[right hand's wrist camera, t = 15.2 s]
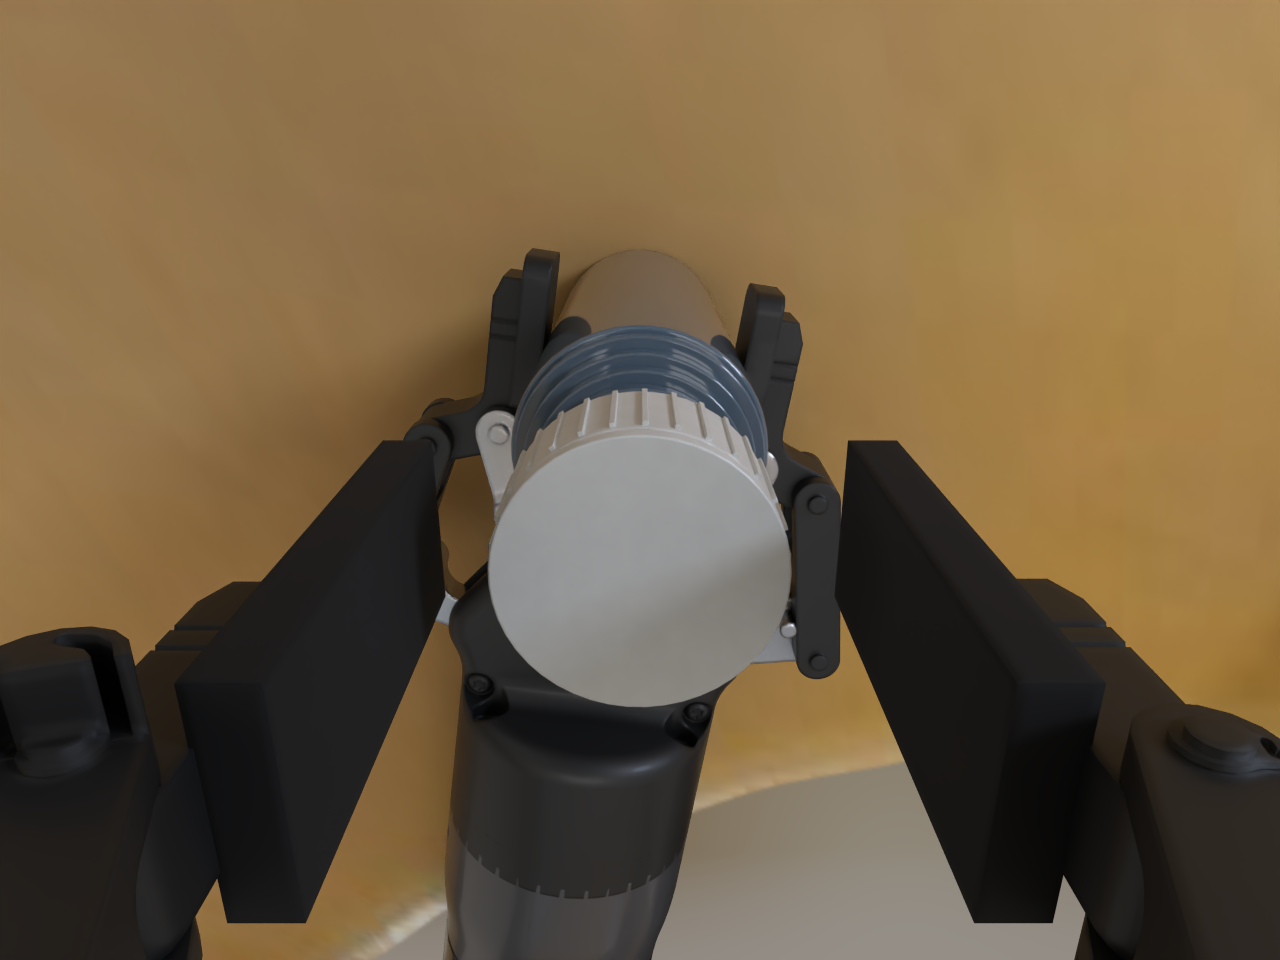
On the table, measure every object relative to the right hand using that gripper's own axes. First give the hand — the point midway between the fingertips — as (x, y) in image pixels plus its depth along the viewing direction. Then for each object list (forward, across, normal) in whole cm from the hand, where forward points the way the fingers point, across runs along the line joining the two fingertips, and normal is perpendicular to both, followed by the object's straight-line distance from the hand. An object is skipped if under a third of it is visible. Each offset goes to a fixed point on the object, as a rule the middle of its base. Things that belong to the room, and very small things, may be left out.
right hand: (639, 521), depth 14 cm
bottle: (+16, 0, 0) cm, 16 cm away
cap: (-2, 0, 0) cm, 2 cm away
